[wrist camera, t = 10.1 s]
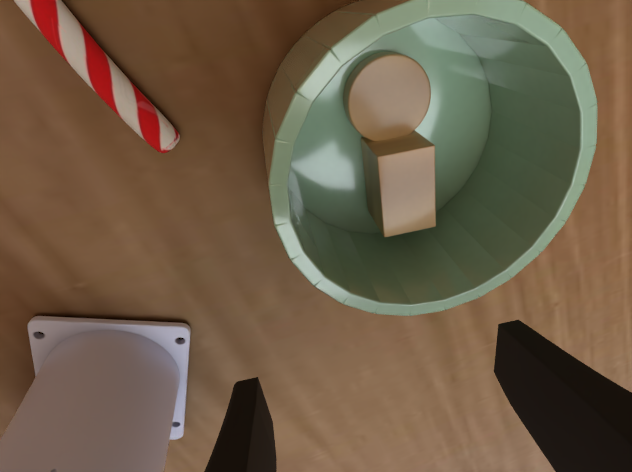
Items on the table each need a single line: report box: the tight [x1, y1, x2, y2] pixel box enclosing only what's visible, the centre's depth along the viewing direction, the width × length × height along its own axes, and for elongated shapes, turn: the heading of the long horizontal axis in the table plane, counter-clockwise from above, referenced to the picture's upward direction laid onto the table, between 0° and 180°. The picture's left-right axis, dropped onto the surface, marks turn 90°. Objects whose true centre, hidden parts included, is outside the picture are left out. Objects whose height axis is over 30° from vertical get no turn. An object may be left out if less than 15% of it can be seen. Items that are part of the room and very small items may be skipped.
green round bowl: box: [262, 0, 597, 316], centre depth 17 cm, size 11×11×6 cm
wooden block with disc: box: [343, 52, 436, 237], centre depth 18 cm, size 7×4×3 cm, turn 9°
